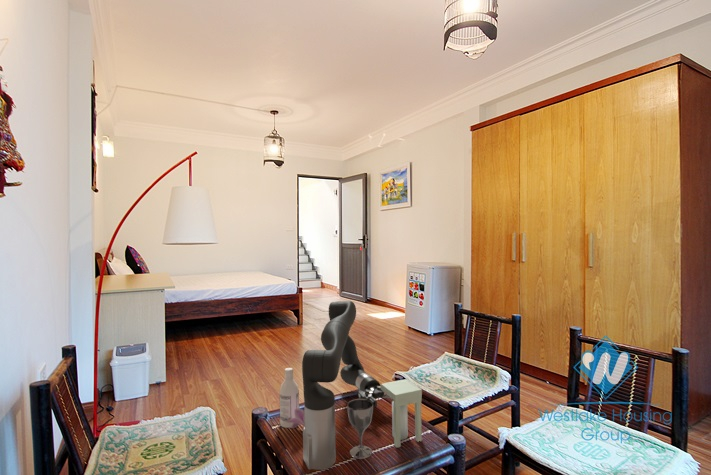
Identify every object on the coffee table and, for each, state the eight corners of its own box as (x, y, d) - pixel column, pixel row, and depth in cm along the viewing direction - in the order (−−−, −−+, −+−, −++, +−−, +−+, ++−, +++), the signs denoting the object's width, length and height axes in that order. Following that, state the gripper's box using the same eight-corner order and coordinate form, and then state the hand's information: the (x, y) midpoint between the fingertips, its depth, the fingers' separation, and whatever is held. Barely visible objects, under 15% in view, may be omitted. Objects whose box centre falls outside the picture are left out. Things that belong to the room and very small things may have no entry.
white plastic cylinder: (392, 439, 121) (391, 406, 121) (392, 431, 126) (392, 399, 126) (408, 440, 120) (407, 406, 120) (407, 431, 125) (407, 400, 125)
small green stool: (396, 448, 116) (395, 395, 116) (381, 433, 125) (381, 383, 125) (422, 441, 120) (421, 389, 120) (406, 426, 129) (406, 379, 129)
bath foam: (294, 417, 137) (293, 364, 137) (302, 424, 132) (301, 369, 132) (276, 422, 133) (276, 368, 133) (285, 430, 128) (284, 373, 128)
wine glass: (374, 445, 118) (373, 399, 118) (372, 460, 110) (372, 410, 110) (349, 444, 118) (349, 398, 118) (346, 459, 110) (346, 409, 111)
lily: (328, 431, 128) (322, 403, 133) (318, 434, 118) (312, 403, 122) (296, 441, 129) (292, 412, 134) (284, 445, 119) (279, 413, 123)
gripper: (351, 379, 144) (368, 395, 129) (383, 373, 150) (403, 388, 135) (351, 398, 144) (369, 416, 129) (383, 391, 150) (403, 408, 135)
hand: (386, 401), depth 132 cm, fingers open, 8 cm apart
